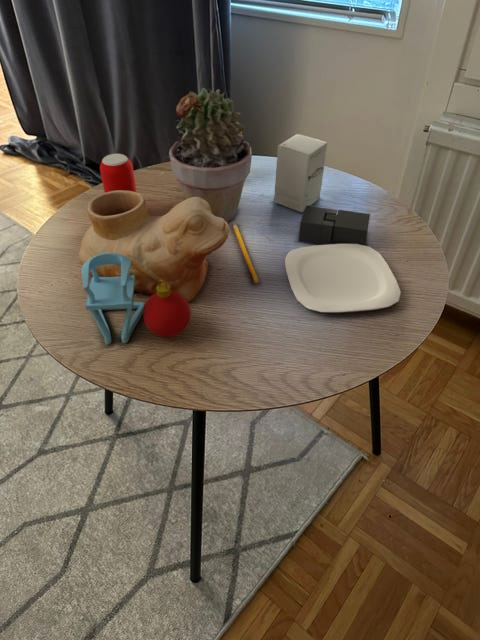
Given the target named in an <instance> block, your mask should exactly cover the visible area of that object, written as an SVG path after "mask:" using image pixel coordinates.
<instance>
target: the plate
mask: <svg viewBox="0 0 480 640" xmlns="http://www.w3.org/2000/svg"><path fill="white" fill-rule="evenodd" d="M284 266H285V272H286V276H287V279H288V282H289V286H290V288H291V291H292V294H294V298H295V299H296V301H297V302H298V303H299V304H300V305H301V306H303V307H304V308H305V309H306V310H308V311H313V312H316V313H321V314H323V313H324V314H344V313H359V312H369V311H376V310H383V309H388V308H390V307H392V306H394V305H395V304H397V303H399V301H400V298H401V293H402V292H401V289H400V285H399V283H398V280H397V279H396V277H395V275H394V273H393V272H392V270H391V268H390V266H389V265H388V263H387V261H386V259H384V257H383V256H382V255H381V253H380V252H378V251H377V250H375V249H373V248H372V247H371V246H368V245H359V244H329V245H316V244H315V245H309V246H302V247H298V248H295V249H292V250H291V251H289V252H288V253H287V255H286V257H285V258H284Z"/></svg>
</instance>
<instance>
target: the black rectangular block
mask: <svg viewBox="0 0 480 640" xmlns="http://www.w3.org/2000/svg"><path fill="white" fill-rule="evenodd" d="M370 217H371V214H370V213H365V212H358V211H351V210H344V209H337V214H336V215H334V214H327V215H326V219H325V221H331V222H334V226H333V232H332V238H331V244H359V245H364V246H366V240H367V235H368V231H369V223H370Z"/></svg>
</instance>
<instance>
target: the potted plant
mask: <svg viewBox="0 0 480 640" xmlns="http://www.w3.org/2000/svg"><path fill="white" fill-rule="evenodd" d="M225 93H226V91H223V93H221V90H220V89H219V88H218V89H216V91H213V90H211V89H209V92H208V89H206V88H205V87H202V88H201V90H200V92H199V94H197V93H196V92H193V91H191V90H190V91H189V92H188V94H186V95H184V96H183V97H182V98H181V99H180V100H179V102H178V104H177V105H176V108H175V111H173V113H174V114H176V115H175V116H174V117H173V119H174V118H177V117H178V118H181V120H180V119H177V120H176V122H177V121H179V123H178V124H177V125H176V126H175V127H174V128H172V129H171V131H172V130H174V129H176V130H177V131H178V134H179V135H181V136H178V137H176V140H177V141H175V142H174V143H173V144H171V147H170V148H169V152H168V156H165V157H160V159H166V158H169V161H170V166H171V171H172V174H173V176H174V177H175V179H176V180H177V181H178V185H179V187H180V189H181V192H182V195H183V196H182V197H183V199H184V200H186V199H189V198H192V197H199V198H201V199H204V200H205V201H207V202H208V204H209V205H210V208H211V212H212V214H213V215H214V216H216V217H219V218H223V219H224V220H225V221H226V222H227V223H228V222H230V221H231V220H234V218H235V217H236V216H237V214H238V209H239V205H240V201H241V198H242V193H243V189H244V185H245V181H246V179H247V178H248V176H249V175H250V173H251V166H252V159H253V158H252V157H253V154H252V153H253V152H252V147H251V145H250V144H252V145H254V146H255V147H256V148H258V146H257V145H255V144H253V143H252V142H250V141H247V140H246V139H245V135H243V134H242V135H239V134H240V132H241V131H242V132H243V130H244V129H246V130H248V128H246V125H245V124H242V123H240V122H239V119H240V118H241V113H240V112H236V111H235V110H234V100H233V99H230V98H229V97H226V98H224V95H225ZM253 132H255V133H258V132H257V131H254V130H253Z"/></svg>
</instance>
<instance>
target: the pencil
mask: <svg viewBox="0 0 480 640" xmlns="http://www.w3.org/2000/svg"><path fill="white" fill-rule="evenodd" d="M232 227H233V231H234V233H235V236H236V238H237V241H238V243H239V247H240V249H241V251H242V254H243V256H244V259H245V262H246V265H247V267H248V269H249V272H250V275H251V278H252V280H253V282H254V283H255V284H257V283H259V278H258V276H257V273H256V271H255V268H254V265H253V263H252V260H251V258H250V256H249V255H250V254H249V253H248V250H247V248H246V245H245V243H244V241H243V237H242V234H241V233H240V230H239V228H238V225H237V223H236V222H233V223H232Z"/></svg>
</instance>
